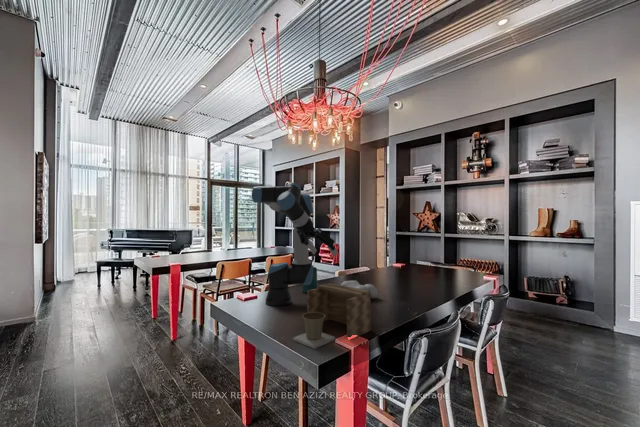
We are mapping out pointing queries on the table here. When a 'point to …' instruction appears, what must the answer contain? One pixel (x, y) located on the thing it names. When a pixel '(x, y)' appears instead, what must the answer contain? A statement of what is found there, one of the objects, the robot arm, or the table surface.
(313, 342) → the tile
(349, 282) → the torso sculpture
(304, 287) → the dark green bottle
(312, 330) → the flower pot
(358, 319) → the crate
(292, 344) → the table surface
